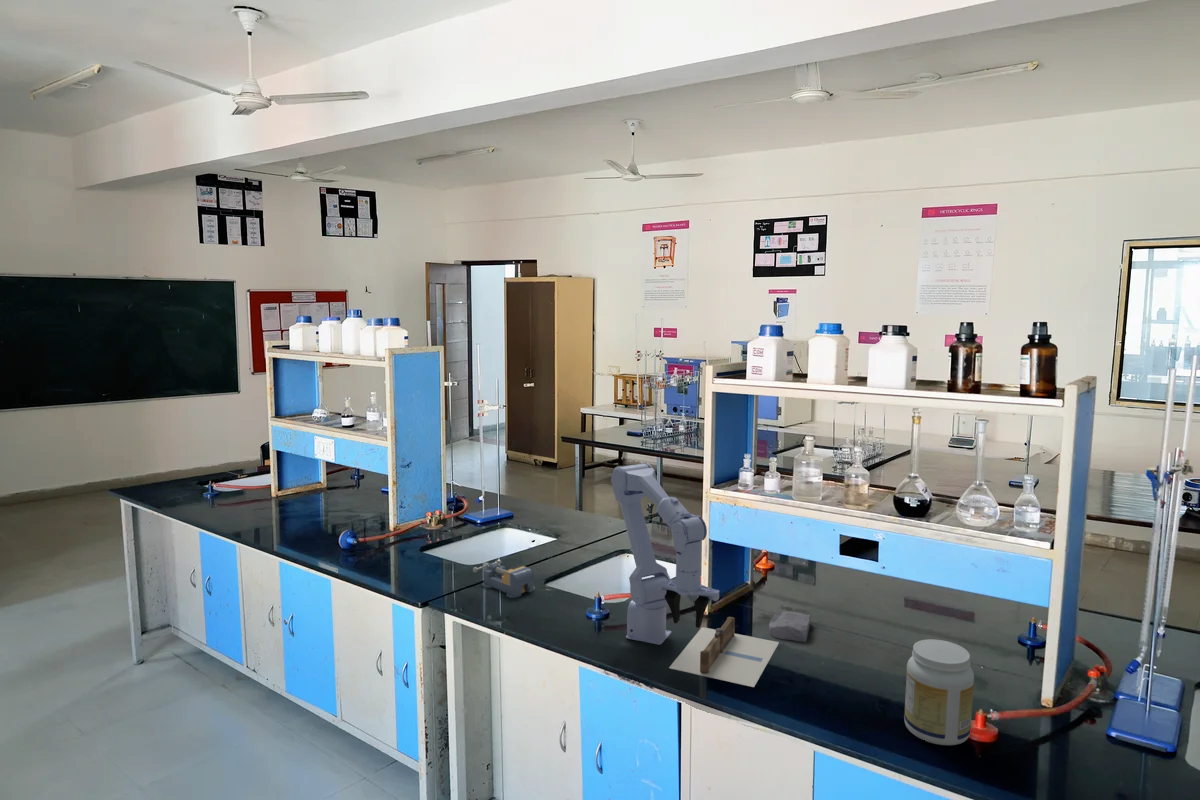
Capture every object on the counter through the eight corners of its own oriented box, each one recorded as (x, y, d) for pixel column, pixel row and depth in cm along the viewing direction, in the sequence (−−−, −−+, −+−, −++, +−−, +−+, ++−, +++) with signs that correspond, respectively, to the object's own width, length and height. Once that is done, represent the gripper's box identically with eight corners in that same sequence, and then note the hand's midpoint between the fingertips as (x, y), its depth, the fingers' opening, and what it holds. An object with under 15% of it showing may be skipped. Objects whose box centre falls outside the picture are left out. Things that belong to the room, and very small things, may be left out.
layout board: (668, 669, 180) (668, 667, 180) (702, 628, 201) (702, 626, 201) (753, 688, 171) (753, 687, 171) (779, 643, 192) (779, 642, 192)
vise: (538, 589, 227) (538, 567, 226) (511, 600, 220) (511, 577, 219) (498, 574, 240) (498, 553, 239) (472, 583, 232) (471, 562, 231)
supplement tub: (951, 713, 161) (957, 636, 159) (982, 747, 149) (988, 664, 147) (893, 714, 161) (898, 637, 158) (919, 749, 149) (924, 666, 146)
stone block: (769, 646, 195) (809, 644, 192) (765, 627, 195) (806, 625, 192) (774, 628, 206) (812, 626, 203) (771, 610, 206) (809, 608, 203)
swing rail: (716, 648, 189) (716, 627, 188) (724, 649, 188) (724, 629, 187) (698, 672, 177) (699, 650, 176) (707, 674, 176) (707, 652, 176)
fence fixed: (713, 652, 187) (714, 633, 187) (727, 633, 197) (728, 615, 197) (721, 653, 186) (722, 635, 186) (735, 634, 197) (735, 617, 196)
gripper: (652, 569, 180) (652, 624, 182) (713, 579, 173) (712, 636, 175) (663, 559, 186) (663, 613, 188) (722, 568, 180) (721, 624, 182)
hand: (687, 623), depth 182 cm, fingers open, 5 cm apart
